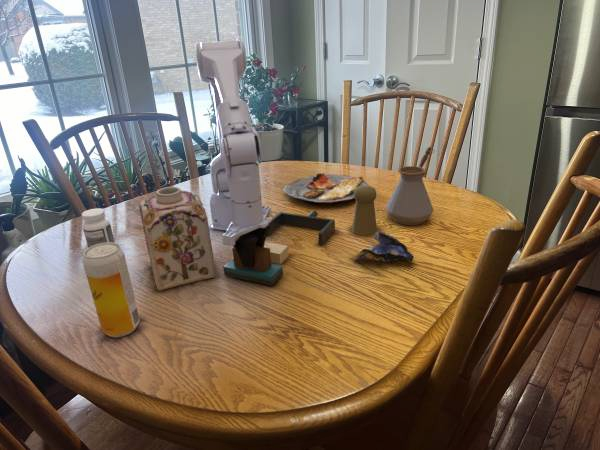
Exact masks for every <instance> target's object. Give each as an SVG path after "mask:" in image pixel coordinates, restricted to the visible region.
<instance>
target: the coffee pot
mask: <svg viewBox="0 0 600 450" xmlns="http://www.w3.org/2000/svg"><path fill="white" fill-rule="evenodd" d="M431 150H432V151H433V152H431ZM435 151H436V150H435V149H434V148H433V147H431V146H429V147H427V148H426V149H425V152H424V153H425V154H424V155H423V156H422V158H421V160H420V162H419V165H418V166H413V165H409V166H401V167H400V168H398V169H397V172H398V174H399V175H400V178H399V181H398V182H397V183H396V186H395V187H394V190H393V192H392V194H391V196H390V198H389V200H388V202H387V204H386V206H385V211H386V213H387V215H388V216H389V217H390V218H391V219H393V221H394V222H395V223H398V224H400V225H404V226H416V225H420V224H422V223H424V222H425V221H426V220H428V219H429V218H430V217H431V216H432V214H433V213H434V206H433V204H432V202H431V199H430V196H429V193H428V191H427V188H426V186H425V182H424V180H423V178H424V176H425V175H426V174H427V170H426V169H425V168H423V167H424V166H425V163H427V161H428V158H429V155H431V154H434V153H435Z"/></svg>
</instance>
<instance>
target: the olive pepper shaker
mask: <svg viewBox="0 0 600 450" xmlns="http://www.w3.org/2000/svg"><path fill="white" fill-rule="evenodd" d="M353 199H354V200H355V207H354V212H353V219H352V226H351V232H352V233H353V234H355V235H357V236H363V237H367V236H374V234H375V233H376V232H378V225H377V217H376V207H375V200H376V199H377V190H376V188H375V187H373V186H371V185H369V186H359V187H357V188H356V189H355V191H354V198H353Z"/></svg>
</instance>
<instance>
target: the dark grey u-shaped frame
mask: <svg viewBox="0 0 600 450" xmlns="http://www.w3.org/2000/svg"><path fill="white" fill-rule="evenodd" d="M267 221H268V222H269V224H270V230H269V232H268V234H267V237H269V236H270V235H271V234H272V233H273V232H275V231H276V230H277V229H278V228H279V227H281V226H282V225H285V226H292V227H298V228H305V229H312V230H317V231H318V230H319V232H318V246H323V245H324V244H325V243H326V241H327V240H329V238H330V237H331V236H332V235H333V233H335V231H336V219H334V218H326V217H319V212H318V211H317V210H312V211H311V212H309V213H308V214H307V215H306V214H298V213H290V212H283V211H279V212H278V213H276V214H275V215H274V216H273V217H272V218H270V219H269V220H267Z"/></svg>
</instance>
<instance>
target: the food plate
mask: <svg viewBox="0 0 600 450" xmlns="http://www.w3.org/2000/svg"><path fill="white" fill-rule="evenodd" d="M359 186H370V185H369V184H368V183H367V181H366V180H364V177H363V176H356V177H355V176H350V175H346V174H325V172H323V173H317V174H316V175H310V176H306V177H301V178H299V179H297V180H294V181H291V182H290V183H288V184H286V185H284V187H283V189H282V190H283V192H284V193H285V194H287V196H290V197H292V198H294V199H299V200H302V201H308V202H314V203H324V204H333V203H337V202H341V201H342V202H343V201H348V200H352V199H355V198H354V191H355V189H356V188H357V187H359Z"/></svg>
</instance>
